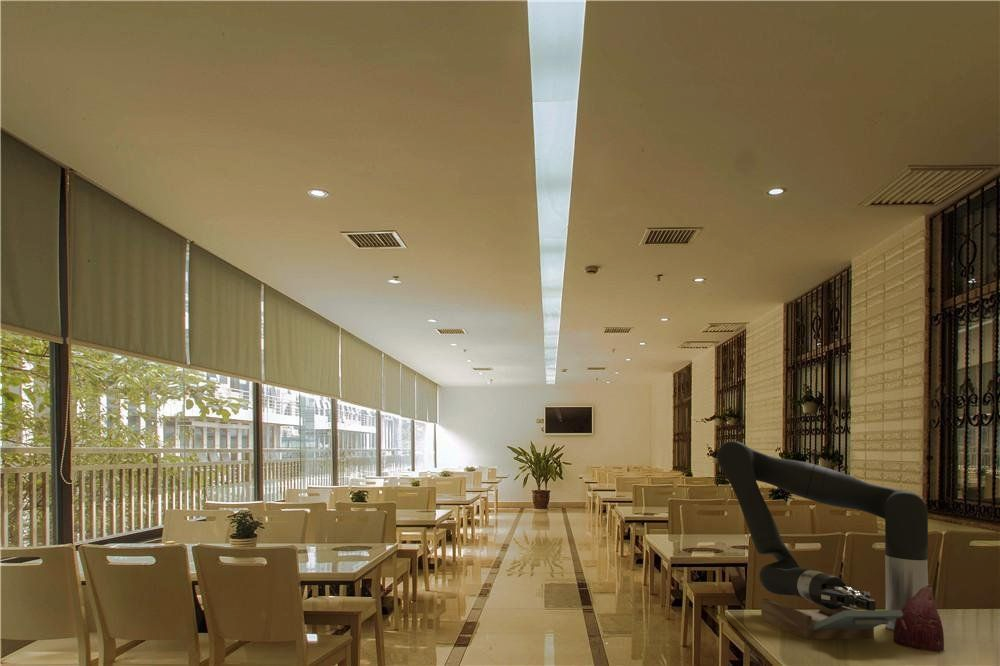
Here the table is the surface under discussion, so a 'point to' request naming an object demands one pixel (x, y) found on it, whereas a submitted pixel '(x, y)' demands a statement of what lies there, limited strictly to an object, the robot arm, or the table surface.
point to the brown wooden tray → (808, 622)
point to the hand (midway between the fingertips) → (872, 605)
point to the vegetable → (920, 623)
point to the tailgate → (857, 619)
